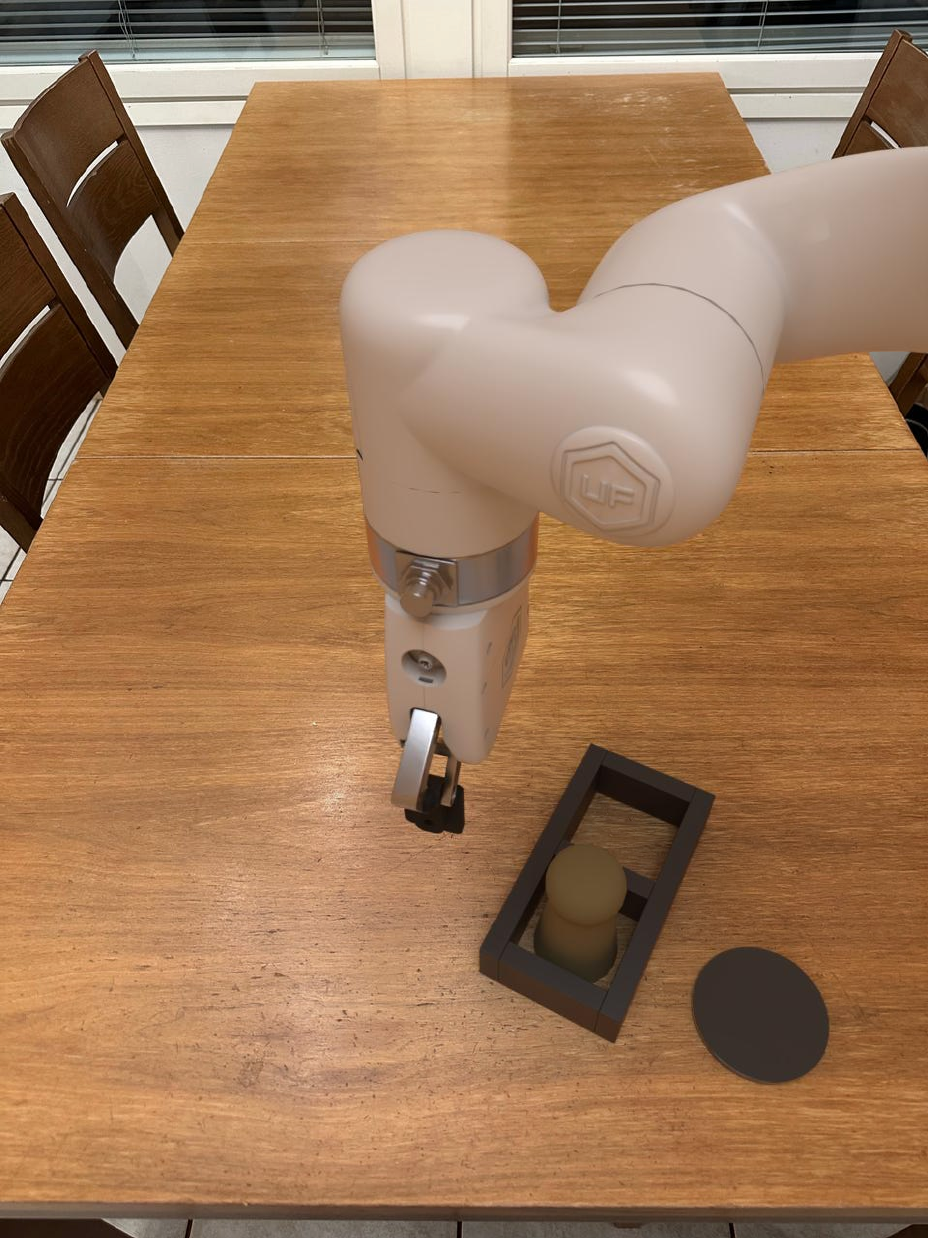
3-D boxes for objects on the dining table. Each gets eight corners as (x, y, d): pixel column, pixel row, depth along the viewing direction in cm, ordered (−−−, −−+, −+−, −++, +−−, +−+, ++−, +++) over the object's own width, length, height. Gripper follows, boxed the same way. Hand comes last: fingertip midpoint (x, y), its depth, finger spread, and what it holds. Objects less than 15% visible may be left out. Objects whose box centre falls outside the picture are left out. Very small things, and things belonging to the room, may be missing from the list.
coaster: (842, 986, 65) (844, 984, 65) (807, 1112, 60) (809, 1110, 60) (716, 928, 68) (717, 925, 68) (672, 1042, 63) (674, 1040, 63)
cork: (515, 939, 68) (520, 867, 60) (574, 887, 70) (587, 811, 62) (575, 1004, 65) (589, 937, 57) (635, 947, 67) (656, 875, 59)
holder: (706, 822, 74) (716, 795, 71) (614, 1044, 63) (620, 1023, 60) (586, 770, 77) (590, 742, 74) (479, 972, 66) (478, 949, 63)
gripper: (483, 701, 35) (484, 905, 48) (576, 426, 46) (557, 652, 59) (295, 659, 37) (345, 869, 49) (430, 403, 48) (442, 628, 60)
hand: (460, 751), depth 54 cm, fingers open, 9 cm apart
